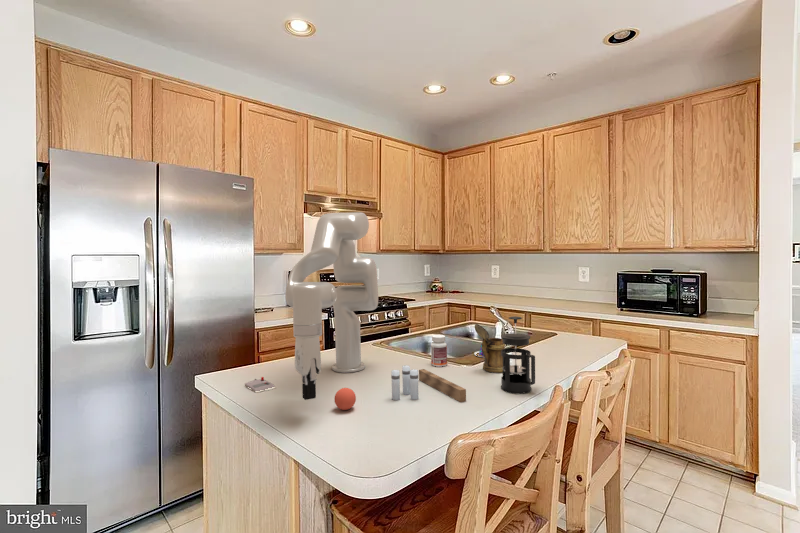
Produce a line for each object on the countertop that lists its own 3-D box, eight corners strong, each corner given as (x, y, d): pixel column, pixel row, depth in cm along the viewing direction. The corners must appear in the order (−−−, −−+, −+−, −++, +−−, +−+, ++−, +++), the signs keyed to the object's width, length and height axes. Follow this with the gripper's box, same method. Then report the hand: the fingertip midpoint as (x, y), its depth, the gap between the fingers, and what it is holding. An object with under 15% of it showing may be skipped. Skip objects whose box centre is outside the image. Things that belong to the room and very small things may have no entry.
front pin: (390, 398, 123) (389, 370, 122) (397, 396, 124) (397, 369, 123) (394, 401, 120) (393, 372, 120) (401, 399, 121) (401, 371, 121)
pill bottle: (450, 365, 157) (450, 336, 156) (437, 368, 153) (437, 338, 153) (440, 361, 162) (439, 333, 161) (428, 364, 158) (427, 335, 158)
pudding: (509, 356, 170) (509, 343, 169) (488, 361, 163) (488, 348, 163) (488, 350, 180) (488, 339, 179) (468, 355, 173) (467, 342, 173)
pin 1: (401, 392, 127) (400, 366, 127) (408, 391, 128) (407, 364, 128) (405, 395, 125) (404, 368, 125) (412, 393, 126) (411, 366, 126)
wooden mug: (468, 370, 149) (467, 322, 149) (495, 364, 156) (494, 318, 156) (485, 376, 142) (484, 325, 141) (512, 370, 149) (512, 321, 148)
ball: (331, 407, 116) (331, 387, 116) (351, 403, 119) (351, 383, 118) (338, 415, 111) (338, 393, 110) (359, 410, 113) (358, 389, 113)
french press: (493, 388, 130) (492, 316, 129) (510, 381, 136) (510, 313, 135) (524, 397, 121) (524, 321, 120) (542, 390, 127) (541, 317, 126)
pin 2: (408, 397, 123) (408, 370, 122) (416, 396, 124) (415, 368, 123) (412, 400, 120) (412, 372, 120) (420, 398, 122) (419, 370, 121)
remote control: (258, 397, 128) (258, 387, 128) (240, 385, 140) (239, 376, 140) (278, 391, 133) (278, 382, 132) (258, 381, 144) (258, 372, 144)
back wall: (419, 379, 140) (418, 369, 139) (424, 379, 140) (423, 369, 140) (460, 402, 118) (460, 390, 118) (466, 401, 119) (465, 389, 119)
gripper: (287, 327, 114) (289, 392, 114) (300, 336, 101) (302, 409, 101) (314, 325, 117) (315, 388, 118) (329, 333, 104) (331, 404, 104)
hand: (309, 398), depth 109 cm, fingers closed
